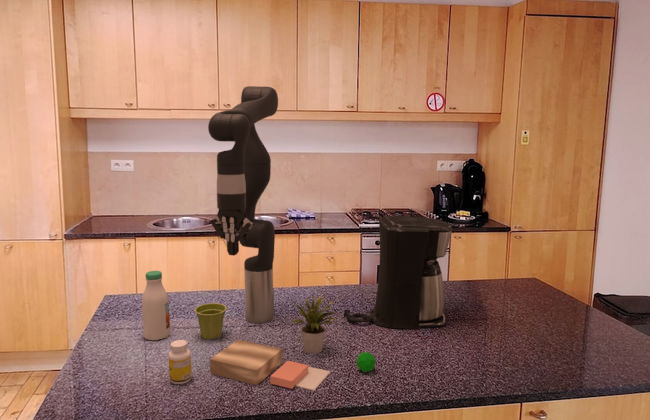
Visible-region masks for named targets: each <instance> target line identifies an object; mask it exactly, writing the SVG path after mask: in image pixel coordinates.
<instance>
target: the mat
mask: <svg viewBox="0 0 650 420" xmlns="http://www.w3.org/2000/svg"><path fill="white" fill-rule="evenodd" d="M330 374H331V371H329V370H326V369H321V368H316V367H311V366H308V373H307V374H306V375H305V376H304V377H303V378H302V379H301V380H300V381H299V382H298V383H297V384H296V385H295V386H294V387H297V388H301V389H305V390H309V391H315V390H316V389H318V387H319V386H320V385H321V384H322V383H323V382H324V380H325V379H326V378H327V377H328V376H329V375H330Z"/></svg>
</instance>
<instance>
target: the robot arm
mask: <svg viewBox="0 0 650 420" xmlns="http://www.w3.org/2000/svg"><path fill="white" fill-rule="evenodd" d="M278 95H279V94H278V92H277V91H276V89H275V88H273V87H270V86H256V85H255V86H254V85H253V86H249V85H248V86H245V87H243V89H242V92H241V96H240V99H241V100H240V103H239V104H236V105H235V106H234V107H232V108H230V109H226V110H222V111H220V112H217V113H215V114H214V115H213V116H211V118H210V120H209V121H208V125H207V130H208V133H209V136H210V137H211V138H212V139H213V140H214V141H218V142H232V143H233V142H234V144H233V147H232V148H231V149H227V150H223V151H219V152H218V153H217V155H216V171H217V172H216V173H217V175H216V204H217V206H216V207H217V209H218V211H217V214H216V215H217V216H216V217H215V218H213V219H211V220H210V224H211V226H212V227H213V229H214V230H215V232H216V233H217V234H218V237H219V238H220V239H221V240H222V239H224V240H225V241H226V252H227V254H228V255H229V256H237V255H238V253H239V252H240V247H239V245H241V246H242V247H245V248H252V249H253V248H254V249H258V251H257V255H254V256H250V257H247V258H246V259H245V260H244V263H243V264H244V265H243V266H244V268H243V269H244V304H245V305H244V307H245V309H244V311H245V313H244V314H245V316H244V317H245V320H246V322H249V323H254V324H261V323H262V324H264V323H268V322H270V321H272V320H273V319H274V315H275V289H274V273H273V272H274V269H273V267H274V259H275V240H276V239H275V238H276V234H275V233H276V231H275V230H276V229H275V226H274V224H273V222H272V221H271V220H268V219H267V220H266V219H265V220H264V219H256V218H255V217H256V214H255V213H256V208H257V204H258V203H259V200H260V198H261V196H262V195H263V193H264V192H265V190H266V189H267V187H268V185H269V183H270V180H271V169H272V168H271V166H272V165H271V164H272V162H271V161H272V160H271V156H270V153H269V152H268V149H267V148H266V146H265V145H264V143H263V142H262V140H261V138H260V136H259V133H258V132H257V129H256V123H258V122H259V121H262V120H264V119H266V118H269V117H272V116H274V115H275V114H276V113H277V112H278V111H277V110H278V107H279V97H278Z"/></svg>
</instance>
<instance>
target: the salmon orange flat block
mask: <svg viewBox="0 0 650 420" xmlns="http://www.w3.org/2000/svg"><path fill="white" fill-rule="evenodd" d="M308 367H309V365H308V364H304V363H299V362H295V361H291V360H287V361H286V362H284V363H282V364H281V365H280V367H279V368H278V369H276V371H273V372H272V374H271V375H270V379H269V380H270V384H272V385H275V386H279V387H283V388H287V389H291V390H293V388H294V387H296V386H295V385H296V384H297V383H298V382H299V381H300V380H301V379H302V378H303V377H304V376H305V375H306V374H307V373H308Z"/></svg>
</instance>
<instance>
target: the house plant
mask: <svg viewBox="0 0 650 420" xmlns="http://www.w3.org/2000/svg"><path fill="white" fill-rule="evenodd" d="M322 297H323V295H322V294H321V295H319V296H318V297H317V299H316V301H315V299H314V298H315V294H312V296H311V304H310V303H309V301H308V299H306V298H305V297H304V298H303V299H304V301H305V303H304V301H302V300H300V299H299V300H298V301H296V302H294V303H293V304H294V305H293V304H292V306H295V307H296V308H298V313H299V314H301V316H302V317H303V318H304V319H305V321H306V322H307V323H306V322H305V321H303V319H301V318H296V319H295V320H293V323H294V325H296V324H304V326H302V327H301V329H300V332H301V338H302V344H303V349H304V352H305V353H308V354H319V353H321V352H323V347H324V341H325V337H326V331H327V330H326V327H325V326H323V324H332V325H334V323H333V321H335V322H337V321H336V319H335V318H334V317H332V316H331V317H328V316H330V315H335V314H336V315H339V314H340V313H338V312H333V311H332V312H331V311H329V310H334V308H333V307H330V305H331V304H334V303H335V302H336V300H335V301H331V302H329V303H328V304H326V305H325V306H324V307H323V308H322V309H321V310H320V307H321V305H322V303H323V302H324V301H325V300H326V297H324V298H322ZM299 302H302V303H304V305H305V306H306V308H307V311H306V310H305V308H304V307H303V306H302V305H301V304H300V303H299ZM328 307H329V308H328Z"/></svg>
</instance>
